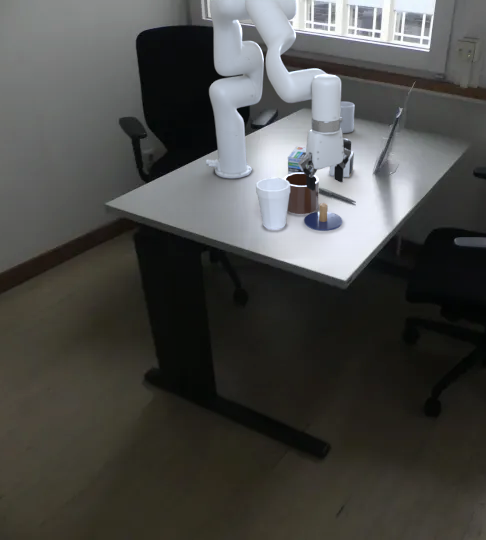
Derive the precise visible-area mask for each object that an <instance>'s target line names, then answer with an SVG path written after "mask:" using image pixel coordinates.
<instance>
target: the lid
mask: <svg viewBox="0 0 486 540" xmlns="http://www.w3.org/2000/svg"><path fill="white" fill-rule="evenodd" d="M328 207H329V205H328V204H327V203H326V202H321V203H318V211H314V212H312V213H308V214H306V215H305V217H304V219H303V223H304V225H305V227H307V228H309V229H312V230H315V231H319V232H320V231H321V232H328V231H334V230H336V229H338V228H340V227H341V226H342V224H343V218H342V217H341V216H340V215H339V214H337V213H334V212H331V211H328V209H329V208H328Z"/></svg>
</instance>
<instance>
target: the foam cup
mask: <svg viewBox="0 0 486 540" xmlns="http://www.w3.org/2000/svg"><path fill="white" fill-rule="evenodd" d="M255 192H256V195H257V201H258V205H259V209H260V210H259V211H260V215H261V221H262V225H263V227H264V228H266V229H267V230H281V229H282V228H284V227H285V226H286V224H287V217H288V211H287V210H288V202H289V194H290V183H289V181H287V180H285V179H284V178H282V177H266V178H262V179H259V180H257V182H256V183H255Z"/></svg>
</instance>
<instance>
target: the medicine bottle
mask: <svg viewBox="0 0 486 540" xmlns="http://www.w3.org/2000/svg"><path fill="white" fill-rule="evenodd" d="M343 147H344V148H345V149H348V150H350V151H351V154H350V157H349V158H348V159H349V161H348V162H347V164H346V165H345V166H346V167H345V168H344V169H343V178H350V177H351V176H352V172H353V171H354V155H355V152H354V150H352V140H350V139H348V138H344V137H343ZM343 156H344V154H343ZM335 166H337V165H333V166H330V167H329V176H331V177H334V172H335Z"/></svg>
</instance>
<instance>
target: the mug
mask: <svg viewBox="0 0 486 540" xmlns="http://www.w3.org/2000/svg"><path fill="white" fill-rule="evenodd" d="M340 117H342V119H343V121H342V122H341V123H340V128H341V130H342V134H348V133H349V134H350V133H352V132H353V131H354V128H355V127H354V126H355V125H354V124H355V104H354V103H353V102H352V101H351V102H350V101H341V111H340Z"/></svg>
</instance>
